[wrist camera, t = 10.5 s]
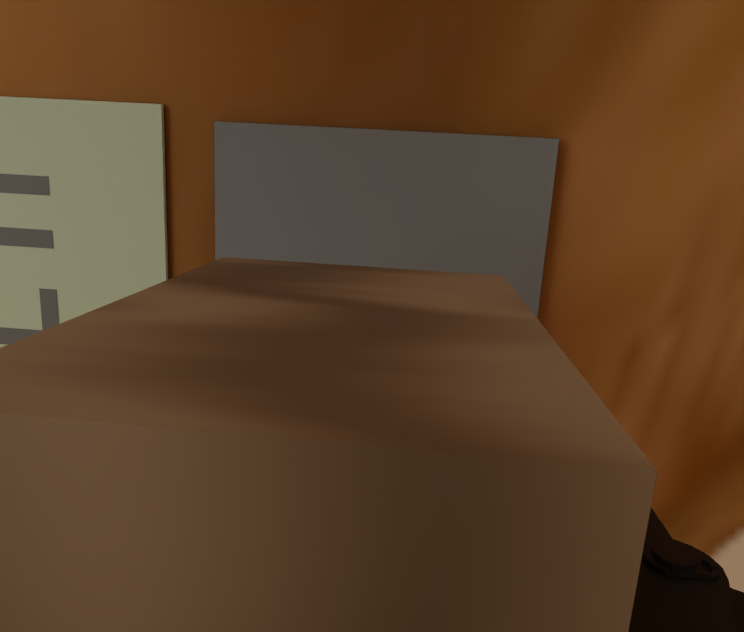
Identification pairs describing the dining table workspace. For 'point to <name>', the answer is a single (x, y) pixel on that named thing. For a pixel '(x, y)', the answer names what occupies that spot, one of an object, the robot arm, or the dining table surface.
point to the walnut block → (313, 462)
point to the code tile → (78, 208)
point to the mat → (386, 199)
